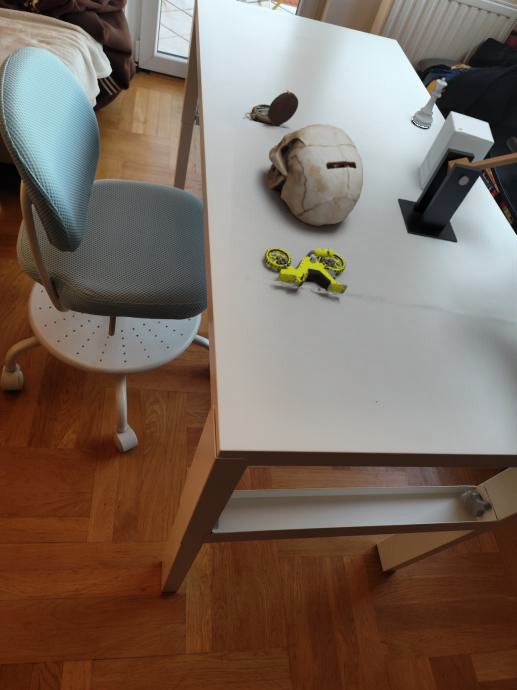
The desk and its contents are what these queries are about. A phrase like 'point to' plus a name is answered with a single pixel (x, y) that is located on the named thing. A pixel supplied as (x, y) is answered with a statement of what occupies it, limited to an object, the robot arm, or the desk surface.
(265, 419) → the desk surface
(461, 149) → the white packaging box
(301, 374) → the desk surface
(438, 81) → the chess piece
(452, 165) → the lever
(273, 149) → the coin bank
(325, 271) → the toy motorcycle
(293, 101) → the compass
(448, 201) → the bracket
